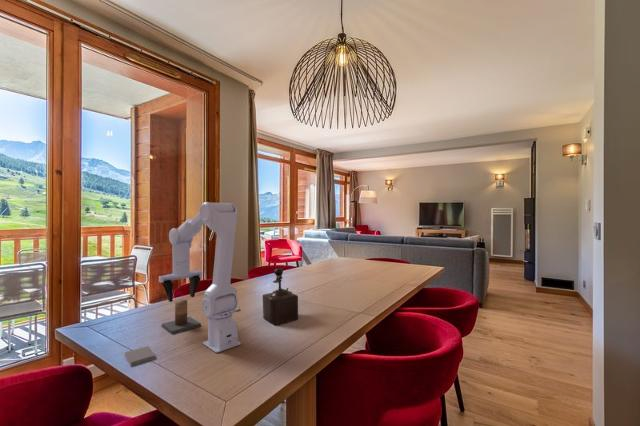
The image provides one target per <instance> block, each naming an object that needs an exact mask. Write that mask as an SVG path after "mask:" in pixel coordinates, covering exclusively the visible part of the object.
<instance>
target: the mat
mask: <svg viewBox="0 0 640 426" xmlns="http://www.w3.org/2000/svg"><path fill="white" fill-rule="evenodd" d="M201 326H202V323H201V322H199V321H198V320H196V319H195V318H192V317H191V316H187V324H185V325H175V320H171V321H167V322H163V323H161V327H162V328H163V329H164V330H165V331H167V332H168V333H169V334H171V335H173V334H177V333H180V332H185V331H188V330H191V329H195V328H199V327H201Z"/></svg>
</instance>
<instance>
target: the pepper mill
mask: <svg viewBox="0 0 640 426" xmlns="http://www.w3.org/2000/svg"><path fill="white" fill-rule="evenodd" d="M273 273H274V275H275V276H276V277H275V279H274V280H273V281H272V283H274V284H278V289H275V290H274V291H272V292H269V293H265V294H264V293H263V294H262V314H263V315H262V318H263V320H265V321H266V322H267V323H269V324H270V325H273V326H275V327H276V326H280V325H284V324H288V323H293V322H296V321H299V295H298V294H295V293H293V292H292V291H290V290H289V287H287V288H286V289H283V288H282V279H283V278H284V277H283V273H284V270H283V268H281V267H280V268H279V267H278V268H275V269H274V272H273Z"/></svg>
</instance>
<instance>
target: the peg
mask: <svg viewBox="0 0 640 426" xmlns="http://www.w3.org/2000/svg"><path fill="white" fill-rule="evenodd" d="M187 317H188V300H187V299H180V300H179V299H178V300H176V301H174V321H175V325H185V324H187Z"/></svg>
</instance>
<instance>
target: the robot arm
mask: <svg viewBox="0 0 640 426" xmlns="http://www.w3.org/2000/svg"><path fill="white" fill-rule="evenodd" d="M238 213H239V210H238V208H237V207H236V205H235V204H234V203H232V202H209V201H204V202H203V203H202V204H201V205H200V206H199V209H198V212H197V214H196V215H195V216H194V217H193V218H186V219H185V221H184V222H183V223H182V224H180V226H179V227H177V228H176V227H175V228H174V227H173V228H171V229H170V230H169V233H168V240H169V243H170V245H172V273H169V274H168V273H167V274H165V275H159V276H158V283H161V285H162V286H163V288H164V291H165V293H166V295H167V299H168V300H167V301H168V302H170V303H171V302H173V299H174V298H173V289H174V282H173V281H176V280H183V279H188V280H189V296H190V297H191V298H195V297H196V296H195V295H196V292H197V288H198V285H199V283H200V282H201V279H202V278H201V277H203V271H202V270H200V269H199V270H191V255H190V253H191V252H190V251H191V250H190V249H191V248H192V243H193V239H194V237H195V236H196V235H197V234H199V232H201V231H202V227H203V226H204V225H206V226H207V227H208V229H209V230H210V231H212V232H215V235H216V239H215V241H216V242H215V249H214V250H215V253H214V263H213V272H212V283H211V284H210V285H209V286H208V288H207V289H205V290H204V295H203V299H202V300H201V304H200V305H201V307H200V308H201V312H202V314H203V316H205V317H206V318H207V340H205V341H202V344H203V345H204V346H206V347H208V349H210V350H212V351H213V352H215V353H216V354H217V353H220V352H224V351H226V350H229V349H231V348H234V347H237V346H240V345H241V342H240V341H239V331H238V329H239V326H238V323H237V321H236V320H235V319H234V317H233V314H235V312H234V310H235V309H236V308H237V307H238V305H239V298H238V289H237V288H236V287H235V286H234V285H232V284H231V279H232V270H233V261H234V250H235V238H236V229H237V224H238V216H239V214H238Z"/></svg>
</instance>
